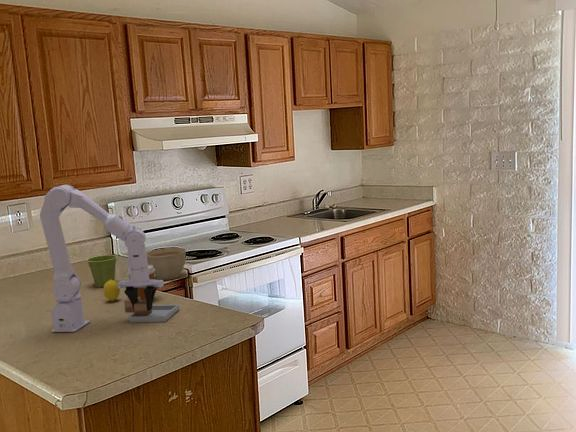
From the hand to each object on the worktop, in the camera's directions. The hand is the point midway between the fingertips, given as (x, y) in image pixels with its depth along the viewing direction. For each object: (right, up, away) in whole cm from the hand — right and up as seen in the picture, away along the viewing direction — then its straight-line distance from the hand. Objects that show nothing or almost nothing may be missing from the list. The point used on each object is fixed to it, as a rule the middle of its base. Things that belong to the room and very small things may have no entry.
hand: (143, 309), depth 181 cm
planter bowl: (-3, +4, +55) cm, 55 cm away
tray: (+3, -3, +2) cm, 5 cm away
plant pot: (-28, +1, +49) cm, 57 cm away
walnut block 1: (-6, -2, +11) cm, 13 cm away
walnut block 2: (0, -2, 0) cm, 2 cm away
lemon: (-17, -1, +24) cm, 30 cm away
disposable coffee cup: (-5, -1, +22) cm, 23 cm away
